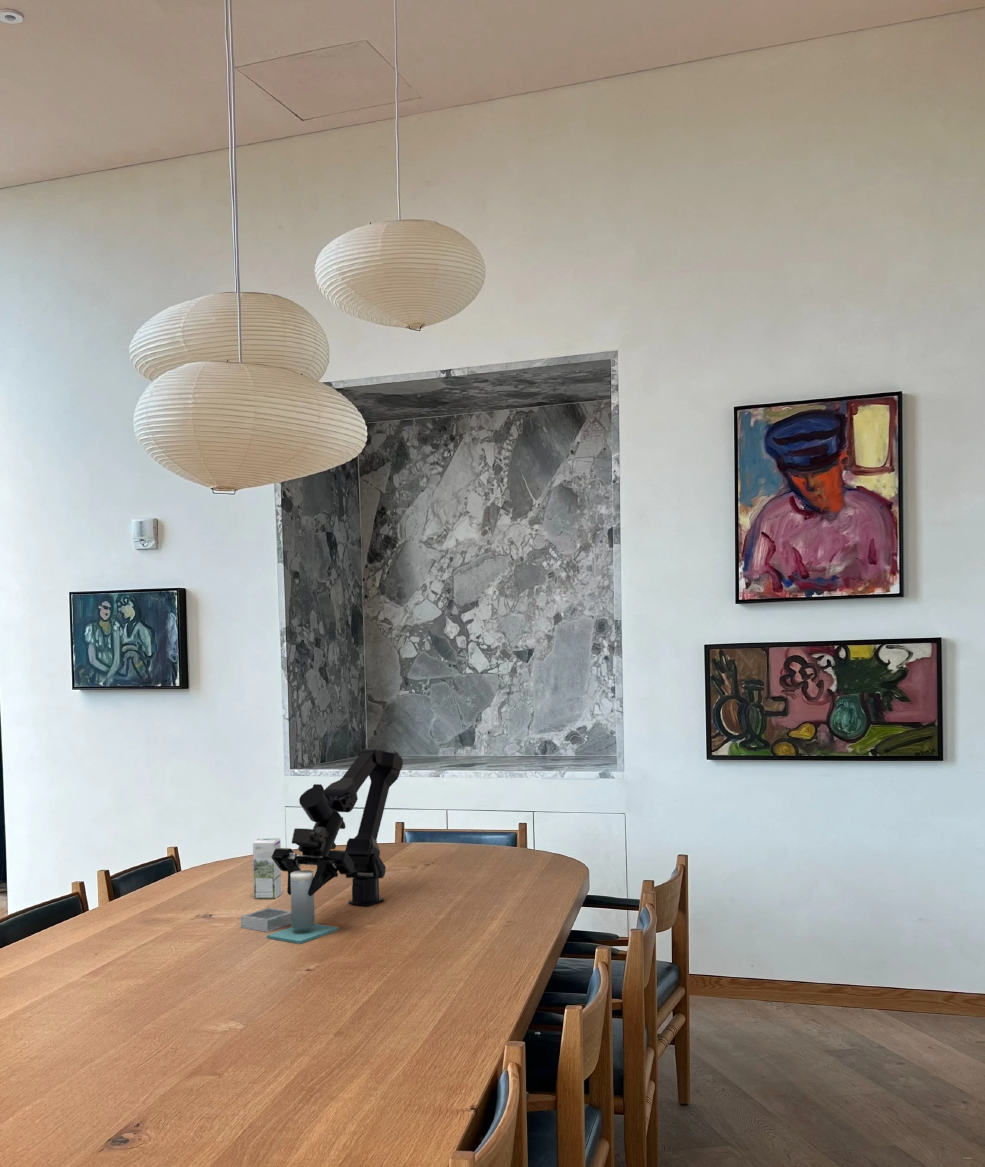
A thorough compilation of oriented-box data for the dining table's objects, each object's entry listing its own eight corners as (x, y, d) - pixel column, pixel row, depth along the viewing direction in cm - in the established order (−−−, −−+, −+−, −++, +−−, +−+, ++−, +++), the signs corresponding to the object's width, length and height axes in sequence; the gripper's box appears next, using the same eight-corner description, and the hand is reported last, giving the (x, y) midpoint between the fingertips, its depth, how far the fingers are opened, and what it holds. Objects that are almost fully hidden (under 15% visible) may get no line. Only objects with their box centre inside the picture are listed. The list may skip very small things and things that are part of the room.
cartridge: (295, 922, 221) (294, 870, 222) (317, 922, 221) (316, 870, 222) (288, 929, 216) (287, 875, 217) (310, 928, 216) (309, 875, 217)
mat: (306, 924, 226) (305, 922, 226) (338, 930, 221) (338, 927, 221) (266, 938, 216) (266, 935, 216) (300, 944, 211) (300, 941, 211)
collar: (268, 918, 233) (268, 907, 233) (295, 922, 228) (294, 911, 229) (240, 927, 226) (240, 916, 226) (267, 931, 221) (267, 920, 221)
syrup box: (282, 893, 258) (281, 837, 259) (275, 899, 252) (273, 841, 253) (261, 893, 259) (259, 837, 260) (253, 899, 253) (252, 841, 254)
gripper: (274, 812, 227) (247, 871, 216) (346, 814, 221) (321, 875, 210) (294, 840, 234) (268, 899, 223) (364, 843, 227) (341, 904, 216)
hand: (298, 894), depth 218 cm, fingers closed on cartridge, 5 cm apart
